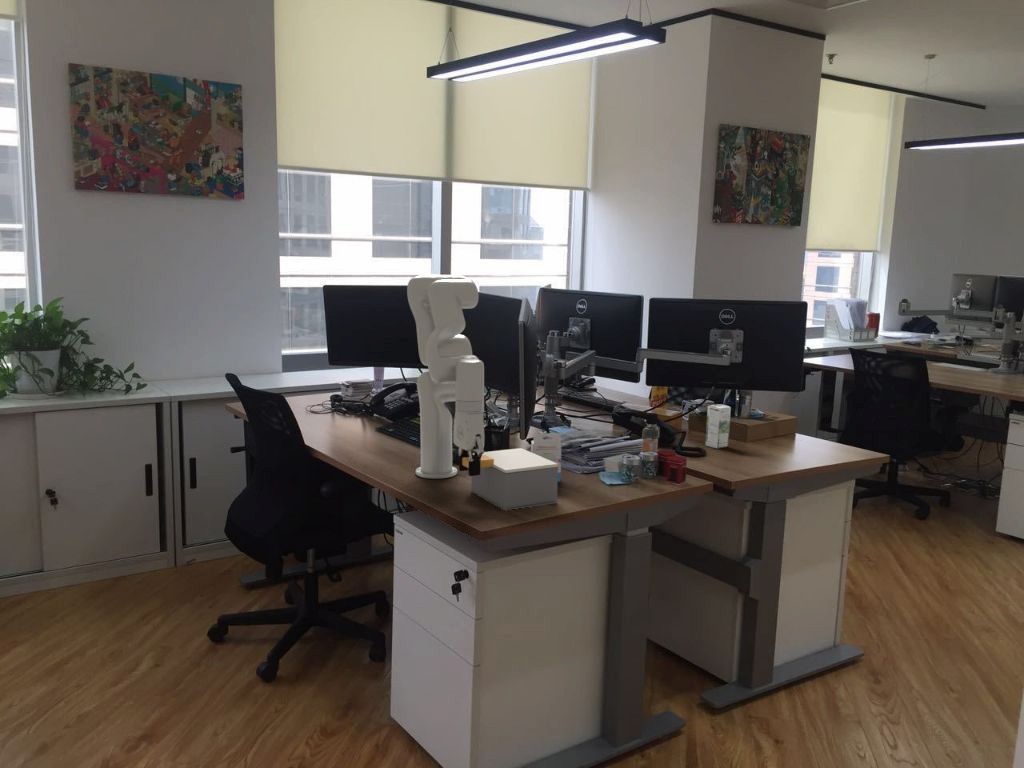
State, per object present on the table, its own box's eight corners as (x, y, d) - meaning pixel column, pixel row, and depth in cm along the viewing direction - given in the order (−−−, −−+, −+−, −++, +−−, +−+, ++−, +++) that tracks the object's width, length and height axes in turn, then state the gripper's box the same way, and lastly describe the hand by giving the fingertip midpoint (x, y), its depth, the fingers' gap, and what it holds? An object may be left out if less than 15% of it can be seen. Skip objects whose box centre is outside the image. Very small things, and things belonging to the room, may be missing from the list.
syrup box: (716, 443, 302) (718, 403, 300) (729, 447, 297) (731, 406, 295) (704, 445, 299) (706, 405, 297) (717, 449, 294) (719, 407, 292)
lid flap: (450, 458, 236) (450, 451, 235) (521, 450, 247) (521, 444, 246) (483, 475, 219) (483, 468, 218) (557, 466, 229) (558, 459, 229)
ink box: (558, 477, 256) (559, 429, 254) (561, 482, 251) (561, 433, 249) (530, 478, 255) (531, 429, 253) (532, 482, 251) (533, 433, 248)
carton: (471, 491, 241) (471, 457, 239) (520, 484, 248) (521, 451, 247) (505, 511, 223) (505, 474, 222) (557, 502, 231) (557, 467, 229)
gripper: (443, 401, 231) (443, 467, 234) (471, 412, 216) (470, 482, 219) (468, 399, 234) (468, 464, 237) (497, 410, 219) (496, 478, 222)
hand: (469, 472), depth 228 cm, fingers closed on lid flap, 5 cm apart
